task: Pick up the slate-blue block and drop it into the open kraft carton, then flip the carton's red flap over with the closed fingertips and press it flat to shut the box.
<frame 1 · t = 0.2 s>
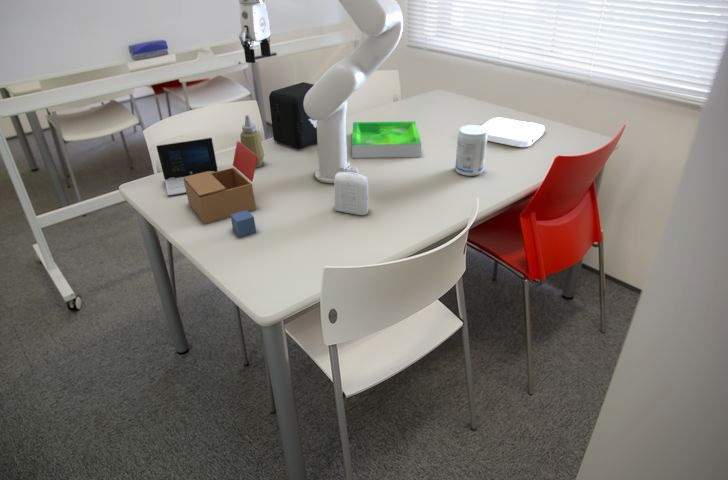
hand: (258, 59, 161), 37 cm above the table, tool pointing down, fingers open, 9 cm apart
flap: (244, 160, 154), point 13 cm above the table, hinge at 110.0°
supplement tub: (468, 171, 175), on the table
black box-shaped case: (304, 141, 203), on the table
laptop: (194, 185, 171), on the table
squeeze bottle: (254, 165, 184), on the table
white rounded piece: (351, 211, 153), on the table
computer: (509, 135, 203), on the table
carton: (222, 207, 157), on the table
tray: (384, 145, 197), on the table
block: (244, 231, 144), on the table
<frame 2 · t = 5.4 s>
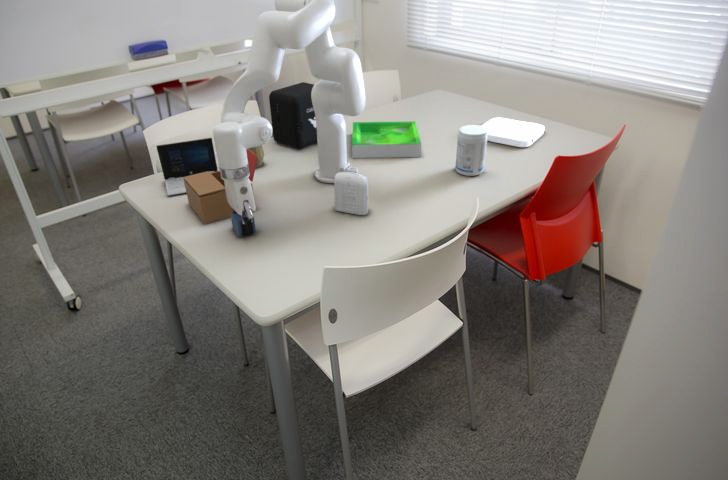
hand: (244, 229, 144), 0 cm above the table, tool pointing down, fingers closed on block, 5 cm apart
block: (244, 231, 144), on the table, touching gripper
everything else where it was.
when the fingers open (6 cm above the table, at t = 13.1 s): block drops 5 cm, resting on carton.
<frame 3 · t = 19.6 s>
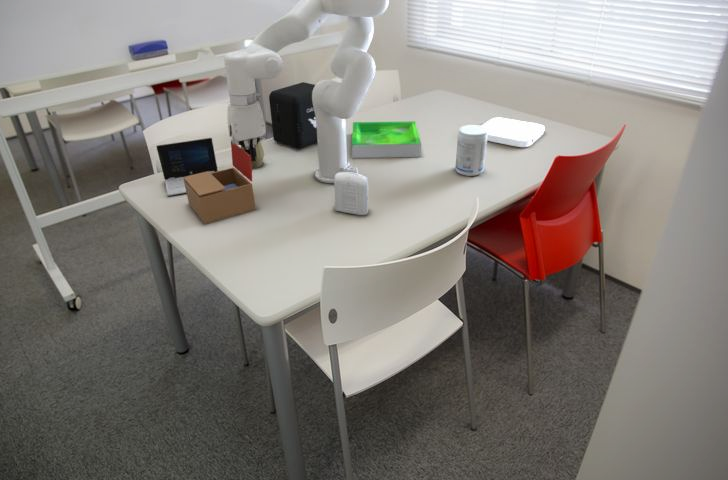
hand: (251, 159, 155), 13 cm above the table, tool pointing down, fingers closed
flap: (241, 160, 153), point 13 cm above the table, hinge at 94.8°, touching gripper
block: (231, 202, 158), resting on carton
everything else where it was.
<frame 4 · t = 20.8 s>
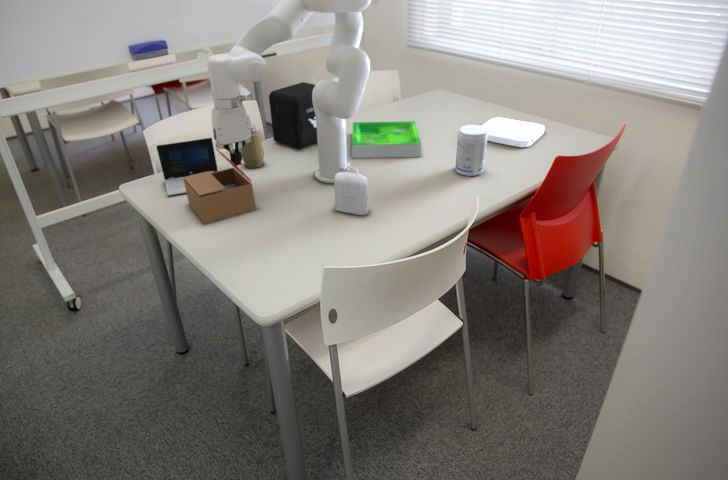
hand: (237, 163, 153), 13 cm above the table, tool pointing down, fingers closed
flap: (233, 165, 152), point 12 cm above the table, hinge at 55.8°
everything else where it was.
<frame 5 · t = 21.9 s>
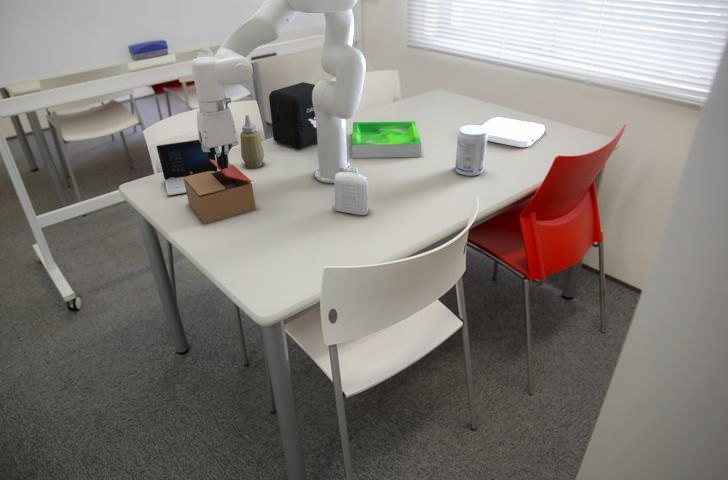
hand: (223, 167, 151), 13 cm above the table, tool pointing down, fingers closed
flap: (230, 170, 153), point 11 cm above the table, hinge at 27.1°
everything else where it was.
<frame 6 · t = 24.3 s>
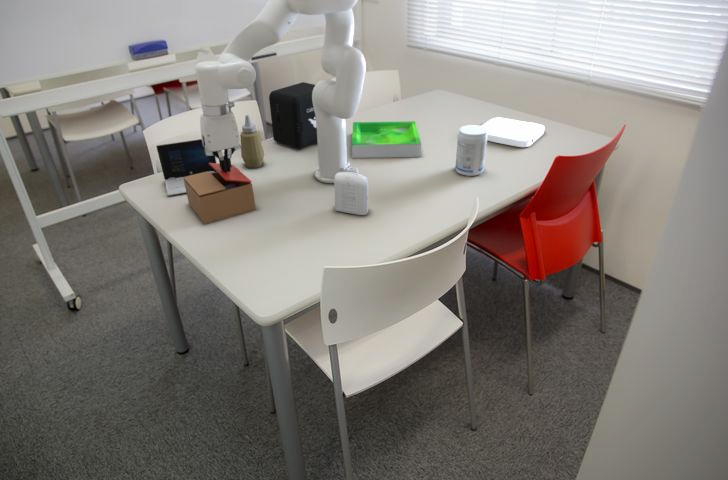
hand: (226, 170, 152), 11 cm above the table, tool pointing down, fingers closed
flap: (229, 172, 153), point 10 cm above the table, hinge at 19.1°, touching gripper
everything else where it was.
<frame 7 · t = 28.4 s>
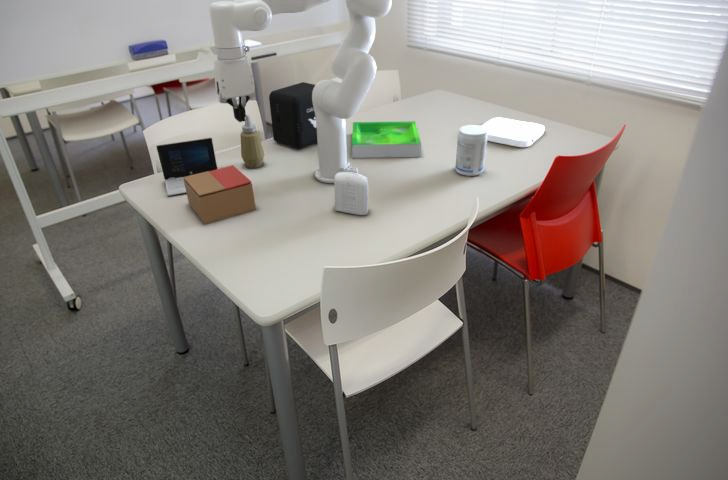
hand: (240, 120, 147), 25 cm above the table, tool pointing down, fingers closed
flap: (229, 176, 153), point 9 cm above the table, hinge at -1.1°
everything else where it was.
at the end: block inside the target area in the carton (3.3 cm from its centre), point 0.5 cm above the carton's base; flap at -1° (first picture: +110°) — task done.
